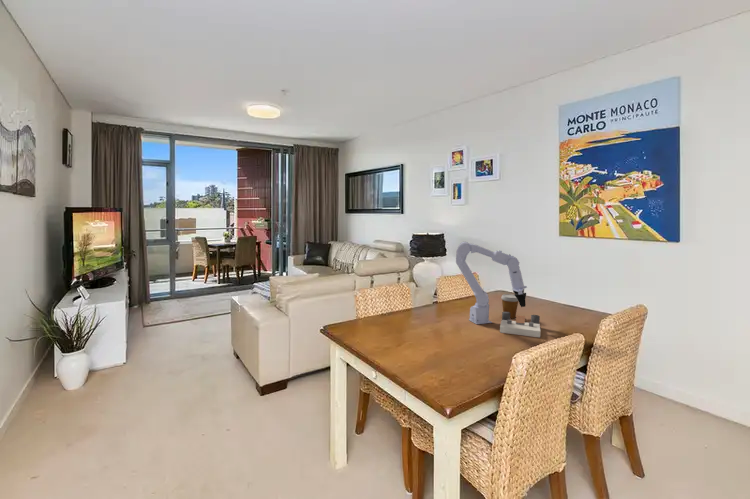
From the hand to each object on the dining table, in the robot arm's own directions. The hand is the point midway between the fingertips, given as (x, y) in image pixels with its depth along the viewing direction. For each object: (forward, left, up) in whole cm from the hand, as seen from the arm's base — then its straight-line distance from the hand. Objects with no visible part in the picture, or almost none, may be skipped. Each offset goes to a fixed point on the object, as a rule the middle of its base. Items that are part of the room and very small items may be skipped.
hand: (522, 304), depth 190 cm
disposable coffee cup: (+3, +14, -11) cm, 18 cm away
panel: (-7, -7, -11) cm, 15 cm away
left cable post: (-7, +4, -11) cm, 13 cm away
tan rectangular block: (-7, -7, -7) cm, 12 cm away
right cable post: (+4, -5, -11) cm, 13 cm away
